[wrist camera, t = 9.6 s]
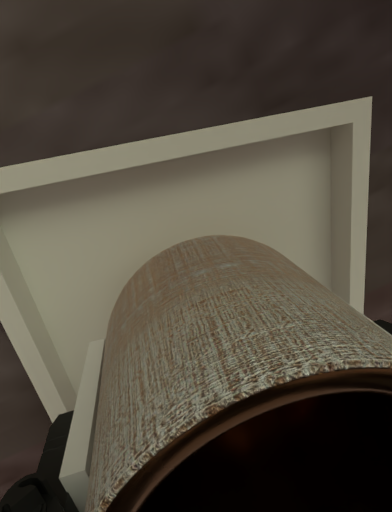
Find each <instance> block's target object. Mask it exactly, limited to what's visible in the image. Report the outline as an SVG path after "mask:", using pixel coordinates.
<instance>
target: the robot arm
mask: <svg viewBox="0 0 392 512" xmlns="http://www.w3.org/2000/svg"><path fill="white" fill-rule="evenodd" d="M328 290H329V289H328ZM331 292H332V291H331ZM332 293H333V292H332ZM335 295H336V294H335ZM336 296H337V295H336ZM339 298H340V297H339ZM340 299H341V298H340ZM342 300H343V299H342ZM343 301H344V300H343ZM344 302H345V301H344ZM346 303H347V302H346ZM347 304H348V303H347ZM348 305H349V304H348ZM350 306H351V305H350ZM351 307H352V306H351ZM352 308H353V309H355V308H354V307H352ZM355 310H356V309H355ZM356 311H357V312H359V311H358V310H356ZM359 313H360V314H361V315H363V314H362V313H361V312H359ZM363 316H364V317H365V318H367V317H366V316H365V315H363ZM367 319H368V320H370V319H369V318H367ZM370 321H371V322H372V323H374V324H375V325H376V326H378V327H379V328H380V329H382V330H383V331H384V332H386V333H387V334H388V335H390V336H391V337H392V324H391V323H388V322H385V321H383V320H377V321H372V320H370ZM105 342H106V340H105V338H104V339H100V340H96V341H92V342H90V343H89V347H88V352H87V356H86V360H85V365H84V369H83V374H82V378H81V382H80V387H79V391H78V396H77V400H76V405H75V409H74V410H73V411H69V412H66V413H63V414H59V415H58V416H57V418H56V419H55V421H54V422H53V424H52V425H51V427H50V429H49V433H48V436H47V439H46V443H45V446H44V449H43V454H42V456H41V459H40V463H39V466H38V469H37V473H34V474H30V475H27V476H25V477H23V478H22V479H20V480H19V481H17V482H16V483H15V484H14V485H13V486H12V487H11V488H10V489H9V490H8V491H7V492H6V494H5V495H4V497H3V498H2V500H1V502H0V512H85V506H86V498H87V491H88V483H89V475H90V468H91V460H92V452H93V444H94V436H95V428H96V420H97V411H98V403H99V395H100V386H101V377H102V368H103V359H104V351H105Z"/></svg>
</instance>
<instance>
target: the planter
mask: <svg viewBox="0 0 392 512" xmlns="http://www.w3.org/2000/svg"><path fill="white" fill-rule="evenodd" d="M85 512H392V337H391V336H390V335H388V334H387V333H386V332H384V331H383V330H382V329H380V328H379V327H378V326H376V325H375V324H374V323H372V322H371V321H370V320H368V319H367V318H365V317H364V316H363V315H361V314H360V313H359V312H357V311H356V310H355V309H353V308H352V307H351V306H350V305H348V304H347V303H346V302H344V301H343V300H342V299H340V298H339V297H338V296H336V295H335V294H334V293H332V292H331V291H330V290H328V289H327V288H326V287H325V286H323V285H322V284H321V283H319V282H318V281H317V280H315V279H314V278H313V277H312V276H310V275H309V274H308V273H306V272H305V271H304V270H302V269H301V268H300V267H298V266H297V265H296V264H294V263H293V262H292V261H290V260H289V259H288V258H286V257H285V256H284V255H282V254H281V253H280V252H278V251H276V250H275V249H273V248H271V247H269V246H267V245H265V244H262V243H260V242H257V241H255V240H252V239H248V238H244V237H239V236H232V235H210V236H203V237H198V238H193V239H190V240H186V241H183V242H180V243H178V244H176V245H173V246H171V247H169V248H167V249H165V250H163V251H162V252H160V253H158V254H157V255H155V256H154V257H152V258H151V259H150V260H148V261H147V262H146V263H145V264H144V265H142V266H141V267H140V268H139V269H138V270H137V271H136V272H135V273H134V275H133V276H132V277H131V278H130V279H129V280H128V282H127V283H126V285H125V286H124V287H123V289H122V291H121V293H120V294H119V296H118V299H117V301H116V303H115V305H114V307H113V310H112V313H111V315H110V319H109V323H108V328H107V335H106V342H105V351H104V359H103V368H102V377H101V386H100V395H99V403H98V411H97V420H96V428H95V436H94V444H93V452H92V460H91V468H90V475H89V483H88V491H87V498H86V506H85Z"/></svg>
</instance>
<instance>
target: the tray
mask: <svg viewBox="0 0 392 512" xmlns="http://www.w3.org/2000/svg"><path fill="white" fill-rule="evenodd" d="M371 114H372V96H371V97H366V98H361V99H355V100H350V101H345V102H340V103H335V104H329V105H324V106H319V107H314V108H308V109H303V110H298V111H293V112H288V113H282V114H277V115H272V116H267V117H262V118H256V119H251V120H246V121H241V122H235V123H230V124H225V125H220V126H215V127H209V128H204V129H199V130H194V131H189V132H183V133H178V134H173V135H168V136H162V137H157V138H152V139H147V140H142V141H136V142H131V143H126V144H121V145H115V146H110V147H105V148H100V149H95V150H89V151H84V152H79V153H74V154H69V155H63V156H58V157H53V158H48V159H42V160H37V161H32V162H27V163H22V164H16V165H11V166H6V167H1V168H0V321H1V323H2V325H3V327H4V329H5V331H6V333H7V335H8V337H9V339H10V341H11V343H12V345H13V347H14V349H15V351H16V353H17V355H18V356H19V358H20V360H21V362H22V364H23V366H24V368H25V370H26V372H27V374H28V376H29V378H30V380H31V382H32V384H33V386H34V388H35V390H36V392H37V394H38V396H39V398H40V400H41V401H42V403H43V405H44V407H45V409H46V411H47V413H48V415H49V417H50V419H51V421H52V423H53V422H54V421H55V419H56V418H57V416H58V415H59V414H63V413H66V412H69V411H73V410H74V409H75V405H76V400H77V396H78V391H79V387H80V382H81V378H82V374H83V369H84V365H85V360H86V356H87V352H88V347H89V343H90V342H92V341H96V340H100V339H104V338H105V340H106V335H107V328H108V323H109V319H110V315H111V313H112V310H113V307H114V305H115V303H116V301H117V299H118V296H119V294H120V293H121V291H122V289H123V287H124V286H125V285H126V283H127V282H128V280H129V279H130V278H131V277H132V276H133V275H134V273H135V272H136V271H137V270H138V269H139V268H140V267H141V266H142V265H144V264H145V263H146V262H147V261H148V260H150V259H151V258H152V257H154V256H155V255H157V254H158V253H160V252H162V251H163V250H165V249H167V248H169V247H171V246H173V245H176V244H178V243H180V242H183V241H186V240H190V239H193V238H198V237H203V236H210V235H232V236H239V237H244V238H248V239H252V240H255V241H257V242H260V243H262V244H265V245H267V246H269V247H271V248H273V249H275V250H276V251H278V252H280V253H281V254H282V255H284V256H285V257H286V258H288V259H289V260H290V261H292V262H293V263H294V264H296V265H297V266H298V267H300V268H301V269H302V270H304V271H305V272H306V273H308V274H309V275H310V276H312V277H313V278H314V279H315V280H317V281H318V282H319V283H321V284H322V285H323V286H325V287H326V288H327V289H329V290H330V291H332V292H333V293H334V294H336V295H337V296H338V297H340V298H341V299H343V300H344V301H345V302H347V303H348V304H349V305H351V306H352V307H354V308H355V309H356V310H358V311H359V312H361V313H362V314H363V313H364V288H365V263H366V238H367V213H368V188H369V164H370V139H371Z"/></svg>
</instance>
